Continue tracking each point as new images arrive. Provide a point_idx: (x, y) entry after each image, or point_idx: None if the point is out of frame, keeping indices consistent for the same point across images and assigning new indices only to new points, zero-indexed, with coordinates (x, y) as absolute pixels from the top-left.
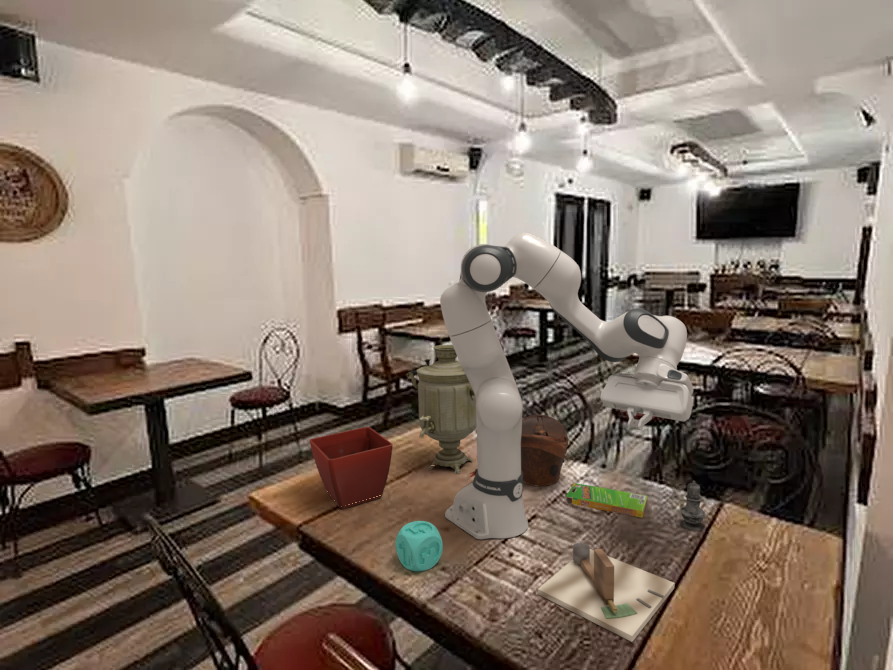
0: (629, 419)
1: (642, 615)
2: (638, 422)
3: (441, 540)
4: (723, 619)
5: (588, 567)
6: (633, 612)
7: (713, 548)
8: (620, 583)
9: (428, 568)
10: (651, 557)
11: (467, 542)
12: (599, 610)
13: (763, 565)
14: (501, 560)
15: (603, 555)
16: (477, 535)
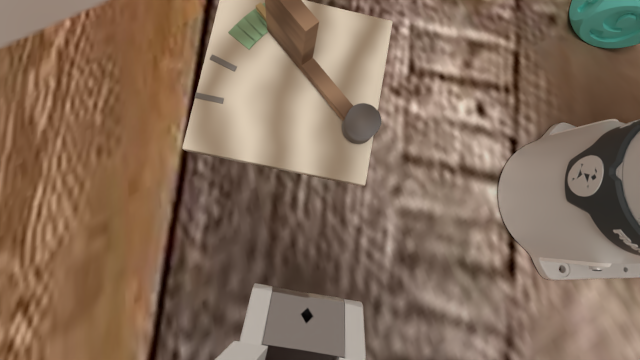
0: (362, 346)
1: (219, 32)
2: (271, 321)
3: (601, 7)
4: (97, 103)
5: (333, 90)
6: (233, 30)
7: (123, 343)
8: (273, 100)
9: (571, 4)
10: (242, 234)
11: (566, 107)
12: None
13: (17, 327)
14: (485, 84)
15: (294, 7)
16: (564, 122)
